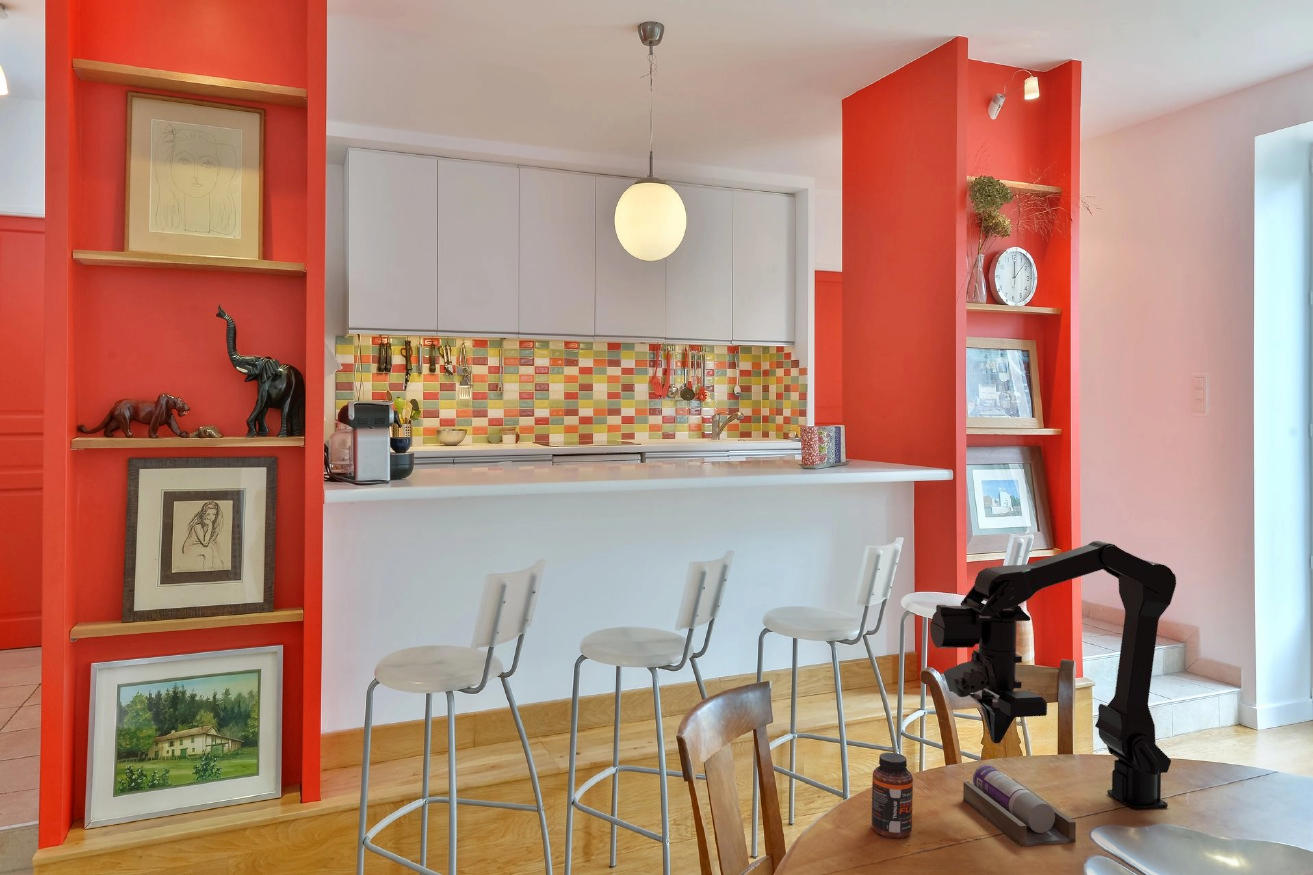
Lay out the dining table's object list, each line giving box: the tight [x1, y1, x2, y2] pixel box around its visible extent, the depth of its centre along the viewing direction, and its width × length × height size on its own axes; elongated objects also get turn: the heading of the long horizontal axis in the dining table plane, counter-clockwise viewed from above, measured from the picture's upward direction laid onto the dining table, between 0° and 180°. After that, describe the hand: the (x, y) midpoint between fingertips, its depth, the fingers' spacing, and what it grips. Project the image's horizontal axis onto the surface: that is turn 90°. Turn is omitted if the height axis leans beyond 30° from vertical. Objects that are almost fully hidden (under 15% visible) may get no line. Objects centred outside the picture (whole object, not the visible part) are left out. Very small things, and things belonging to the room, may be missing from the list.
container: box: [972, 764, 1055, 833], centre depth 137 cm, size 5×5×15 cm
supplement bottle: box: [871, 752, 914, 839], centre depth 131 cm, size 6×6×11 cm
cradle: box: [962, 778, 1077, 847], centre depth 136 cm, size 9×16×3 cm, turn 10°
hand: (995, 742), depth 141 cm, fingers closed
